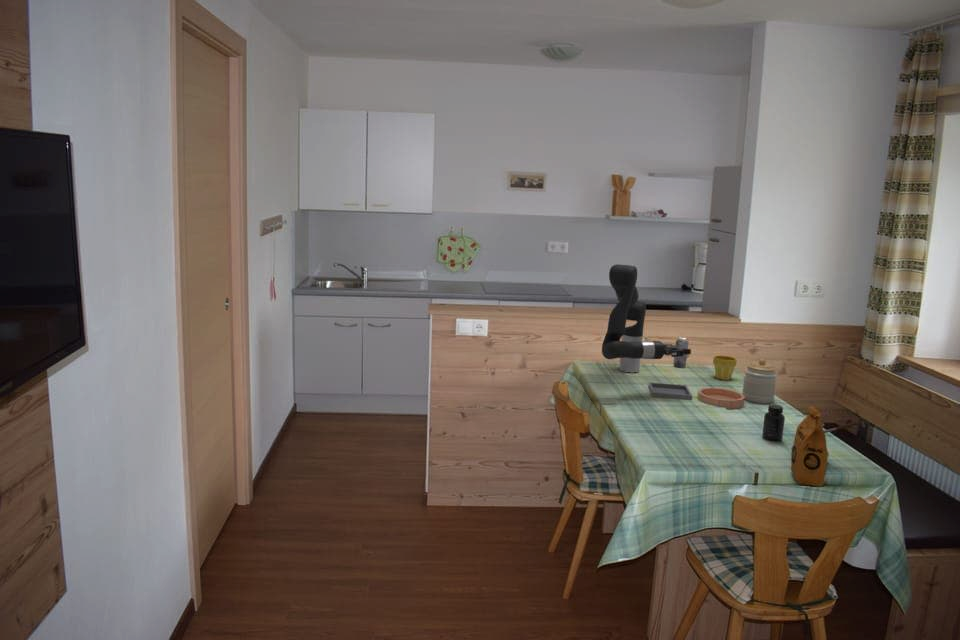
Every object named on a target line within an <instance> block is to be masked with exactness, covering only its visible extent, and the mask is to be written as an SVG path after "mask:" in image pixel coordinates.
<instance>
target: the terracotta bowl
mask: <svg viewBox="0 0 960 640" xmlns="http://www.w3.org/2000/svg"><path fill="white" fill-rule="evenodd" d="M696 397H697V399H698V400H699V401H700V402H701V403H704V404H707V405H712V406H717V407H723V408H725V409H727V410H734V409H735V410H736V409H741V408H743V407H744V406H745V401H746V400H745V397H744V396H743V394H742V392H738V391H736V390H733V389H726V388H720V387H702V388H700V389H698V390H697V396H696Z"/></svg>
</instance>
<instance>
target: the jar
mask: <svg viewBox="0 0 960 640" xmlns="http://www.w3.org/2000/svg"><path fill="white" fill-rule="evenodd" d="M776 371H777V368H776V367H775V366H774V365H773V364H772V363H768V362H766V359H764V358H760V359H759V360H758V361H752V362H750V363H749V364H747V368H746V369H744V373H745V376H744V377H743V385H742V391H741V394H743V396H744V397H745V401H748V402H750V403H751V402H752V403H757V404H771V402H772V403H774V400H775V392H776V385H777V381H776V378H777V376H778V373H777V372H776Z"/></svg>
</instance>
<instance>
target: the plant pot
mask: <svg viewBox="0 0 960 640" xmlns="http://www.w3.org/2000/svg"><path fill="white" fill-rule="evenodd" d="M737 362H738V360H737V357H734V356H730V355H719V354H718V355H713V358H712V364H713V366H714V373H715V375H714V376H715V378H716V379H719V380H724V381H729V380H731V378H732V376H733V372H734V370H735V367H736V366H737V364H738V363H737Z"/></svg>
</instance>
